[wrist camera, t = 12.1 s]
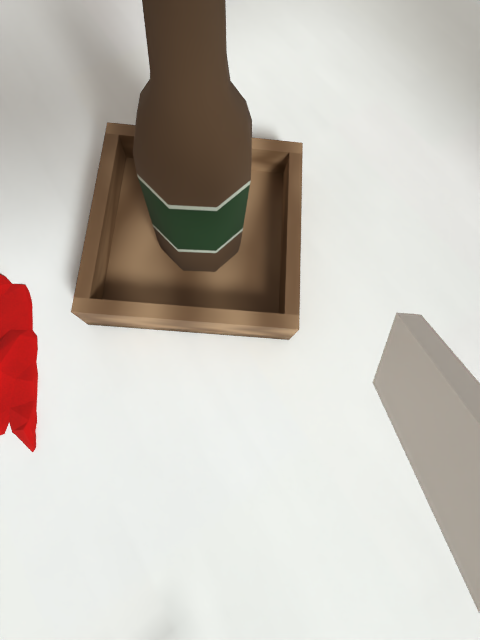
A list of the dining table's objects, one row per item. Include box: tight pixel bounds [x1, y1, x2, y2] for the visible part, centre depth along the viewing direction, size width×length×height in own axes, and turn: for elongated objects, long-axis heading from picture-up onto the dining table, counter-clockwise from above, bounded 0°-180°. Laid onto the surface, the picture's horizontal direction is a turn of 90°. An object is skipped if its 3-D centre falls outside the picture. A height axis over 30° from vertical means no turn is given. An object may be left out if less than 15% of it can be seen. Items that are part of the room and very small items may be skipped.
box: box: [71, 122, 303, 340], centre depth 33 cm, size 18×18×4 cm
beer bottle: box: [133, 0, 252, 272], centre depth 22 cm, size 8×8×24 cm
